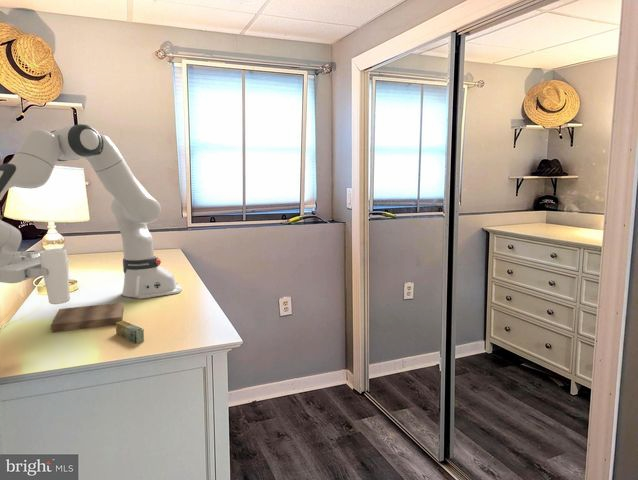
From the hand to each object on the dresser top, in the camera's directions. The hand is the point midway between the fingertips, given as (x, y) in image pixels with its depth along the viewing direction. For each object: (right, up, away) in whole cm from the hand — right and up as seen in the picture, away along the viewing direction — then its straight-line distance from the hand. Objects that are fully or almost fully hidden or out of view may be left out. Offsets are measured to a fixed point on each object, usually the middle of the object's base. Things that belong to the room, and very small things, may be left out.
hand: (57, 268), depth 131 cm
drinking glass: (0, -10, +2) cm, 10 cm away
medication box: (+17, -21, +8) cm, 29 cm away
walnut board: (-2, -18, +23) cm, 29 cm away
